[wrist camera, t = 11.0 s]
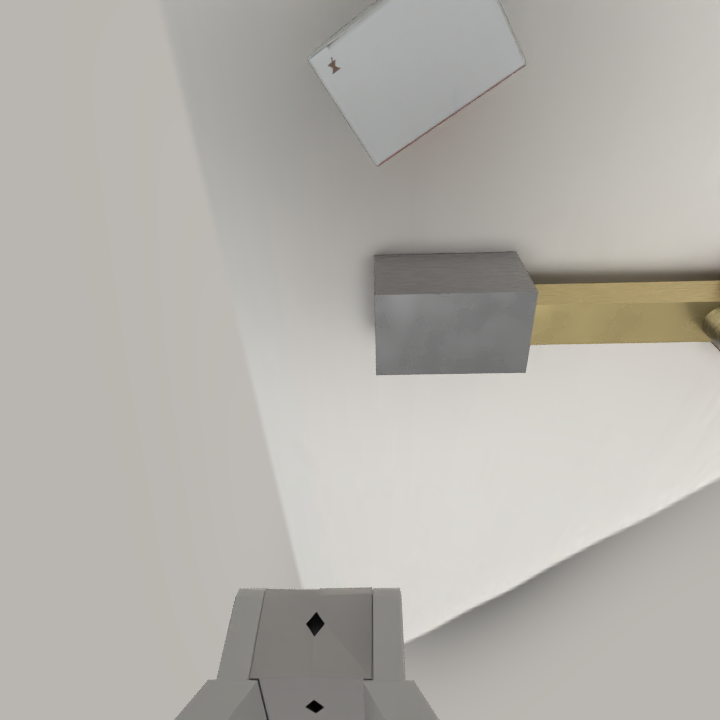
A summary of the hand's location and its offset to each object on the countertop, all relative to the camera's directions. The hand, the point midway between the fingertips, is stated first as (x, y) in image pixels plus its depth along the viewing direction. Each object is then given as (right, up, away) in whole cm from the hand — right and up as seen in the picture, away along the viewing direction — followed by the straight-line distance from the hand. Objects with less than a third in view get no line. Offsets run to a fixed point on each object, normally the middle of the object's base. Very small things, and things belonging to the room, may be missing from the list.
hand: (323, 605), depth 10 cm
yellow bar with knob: (+22, +9, +28) cm, 37 cm away
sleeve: (+7, +10, +31) cm, 33 cm away
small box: (+3, +23, +22) cm, 32 cm away
